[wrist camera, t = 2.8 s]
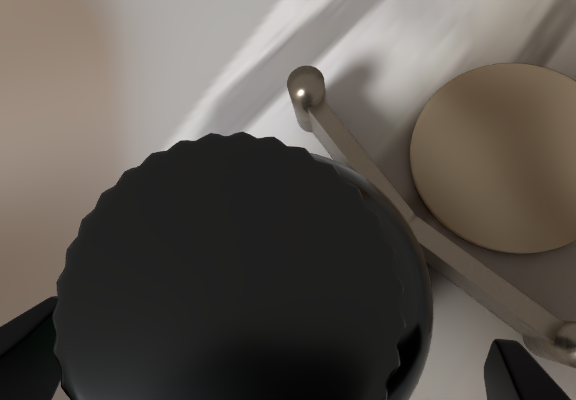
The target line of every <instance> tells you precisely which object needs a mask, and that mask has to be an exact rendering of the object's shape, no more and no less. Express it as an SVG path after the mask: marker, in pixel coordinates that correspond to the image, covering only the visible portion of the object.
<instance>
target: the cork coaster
mask: <svg viewBox="0 0 576 400" xmlns="http://www.w3.org/2000/svg"><path fill="white" fill-rule="evenodd" d="M410 166H411V172H412V176H413V180H414V183H415V185H416V188H417V191H418V193H419V195H420V196H421V198H422V200H423V202H424V203H425V205H426V206H427V208H428V209H429V210H430V212H431V213H432V214H433V215H434V216H435V217H436V218H437V219H438V220H439V222H440V223H442V224H443V225H444V226H445V227H446V228H448V229H449V230H450V231H451V232H453V233H454V234H456V235H458V236H459V237H461V238H462V239H464V240H466V241H468V242H470V243H472V244H475V245H477V246H480V247H483V248H486V249H489V250H494V251H498V252H503V253H514V254H527V253H537V252H543V251H549V250H552V249H556V248H559V247H563V246H565V245H568V244H570V243H572V242H575V241H576V82H575V81H574V80H572V79H570V78H568V77H566V76H564V75H562V74H560V73H558V72H555V71H552V70H550V69H547V68H543V67H539V66H535V65H528V64H521V63H504V64H493V65H488V66H484V67H480V68H477V69H474V70H471V71H468V72H466V73H464V74H462V75H459V76H458V77H456V78H454V79H453V80H451V81H450V82H448V83H447V84H445V85H444V86H443V87H442V88H440V89H439V90H438V91H437V92H436V93H435V94H434V95H433V96H432V98H431V99H430V100H429V101H428V103H427V104H426V105H425V107H424V108H423V110H422V112H421V114H420V116H419V118H418V120H417V122H416V125H415V128H414V131H413V134H412V139H411V144H410Z"/></svg>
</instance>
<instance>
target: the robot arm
mask: <svg viewBox="0 0 576 400" xmlns="http://www.w3.org/2000/svg"><path fill="white" fill-rule="evenodd" d="M57 301H58V296H53V297H50V298H48V299H46V300H44V301H43V302H41V303H39V304H38V305H36V306H35V307H33V308H31V309H30V310H28V311H26V312H24V313H23V314H21V315H20V316H18V317H16V318H14V319H13V320H11V321H10V322H8V323H6V324H4V325H3V326H1V327H0V400H52V398H53V396H54V394H55V391H56V389H57V387H58V385H59V383H60V381H61V367H60V365H59V363H58V361H57V359H56V357H55V355H54V353H53V350H54V343H55V340H56V330H55V327H54V323H53V319H52V315H53V312H54V309H55V307H56V304H57ZM484 380H485V387H486V394H487V400H571V399H570V398H569V397H568V396H567V395H566V393H565V392H564V391H563V390H562V389H561V388H560V387H559V386H558V385H557V384H556V382H555V381H554V380H553V379H552V378H551V377H550V376H549V375H548V374H547V373H546V371H545V370H544V369H543V368H542V367H541V366H540V365H539V364H538V363H537V361H536V360H535V359H534V358H533V357H532V356H531V355H530V354H529V353H528V352H527V350H526V349H525V348H524V347H523V346H522V345H521V344H520V343H518V342H517V341H514V340H504V339H495V340H494V341H493V342H492V344H491V347H490V350H489V353H488V356H487V359H486V362H485V365H484Z"/></svg>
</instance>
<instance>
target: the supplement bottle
mask: <svg viewBox="0 0 576 400" xmlns="http://www.w3.org/2000/svg"><path fill="white" fill-rule="evenodd" d="M57 294H58V301H57V304H56V307H55V309H54V312H53V315H52V319H53V323H54V327H55V330H56V340H55V343H54V350H53V353H54V355H55V357H56V359H57V361H58V363H59V365H60V367H61V388H62V389H63V390H64V392H65V393H66V395H67V396H68V397H69V398H70V399H71V400H409V399H410V397H411V395H412V393H413V391H414V389H415V388H416V386H417V384H418V381H419V379H420V377H421V374H422V372H423V369H424V366H425V363H426V360H427V356H428V353H429V348H430V343H431V338H432V329H433V295H432V286H431V281H430V276H429V271H428V267H427V264H426V261H425V258H424V255H423V252H422V249H421V247H420V245H419V242H418V240H417V238H416V236H415V234H414V232H413V231H412V229H411V227H410V225H409V224H408V222H407V221H406V219H405V218H404V216H403V215H402V213H401V212H400V211H399V209H398V208H397V207H396V206H395V205H394V203H393V202H392V201H391V200H390V199H389V198H388V197H387V196H386V195H385V194H384V193H383V192H382V191H381V190H380V189H379V188H378V187H377V186H375V185H374V184H373V183H372V182H370V181H369V180H368V179H367V178H365V177H364V176H362V175H361V174H359V173H358V172H356V171H354V170H353V169H351V168H349V167H347V166H345V165H343V164H341V163H339V162H336V161H334V160H331V159H329V158H326V157H323V156H319V155H316V154H312V153H309V152H308V151H307V150H306V149H305V148H301V147H290V146H286V145H285V144H283V143H282V142H281V141H280V140H278V139H277V138H275V137H264V138H255V137H253V136H251V135H250V134H247V133H245V132H239V133H235V134H233V135H230V136H222V135H219V134H214V133H210V134H208V135H206V136H204V137H202V138H200V139H198V140H197V141H189V140H184V141H179V142H178V143H176V144H175V145H173V146H172V147H171V148H170V149H169V150H167V151H161V152H156V153H152V154H151V155H150V156H148V157H147V158H146V159H145V161H144V162H143V163H142V164H141V165H140V166H138V167H136V168H131V169H129V170H127V171H125V172H124V173H123V175H122V176H121V178H120V179H119V181H118V182H117V184H116V185H115V186H114V187H112V188H110V189H108V190H106V191H105V192H103V193H102V194H101V196H100V198H99V200H98V202H97V204H96V207H95V209H94V210H93V211H92V212H91V213H89V214H88V215H87V216H86V217H85V218H83V219H82V221H81V225H80V228H79V232H78V236H77V238H76V239H75V240H74V241H73V242H72V244H71V245H70V246H69V247H68V249H67V252H66V264H65V268H64V270H63V272H62V274H61V275H60V277H59V279H58V281H57Z"/></svg>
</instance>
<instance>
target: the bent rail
mask: <svg viewBox="0 0 576 400" xmlns="http://www.w3.org/2000/svg"><path fill="white" fill-rule="evenodd" d="M287 87H288V91H289V94H290V97H291V100H292V104H293V107H294V110H295V114H296V117H297V120H298V123H299V125H300V127H301V128H302V129H303V130H305V131H308V132H313V133H314V134H315V136H316V137H317V138H318V140H319V141H320V142H321V144H322V145H323V146H324V147H325V149H326V150H327V151H328V153H329V154H330V155H331V157H332V158H333V159H334V161H336V162H339V163H341V164H343V165H345V166H347V167H349V168H351V169H353V170H354V171H356V172H358V173H359V174H361V175H362V176H364V177H365V178H367V179H368V180H369V181H370V182H372V183H373V184H374V185H375V186H377V187H378V188H379V189H380V190H381V191H382V192H383V193H384V194H385V195H386V196H387V197H388V198H389V199H390V200H391V201H392V202H393V203H394V205H395V206H396V207H397V208H398V209H399V211H400V212H401V213H402V215H403V216H404V218H405V219H406V221H407V222H408V224H409V225H410V227H411V229H412V231H413V232H414V234H415V236H416V238H417V240H418V242H419V245H420V247H421V249H422V252H423V255H424V258H425V261H426V263H428V264H429V265H430V266H431V267H433V268H434V269H435V270H437V271H438V272H439V273H441V274H442V275H443V276H445V277H446V278H447V279H449V280H450V281H451V282H453V283H454V284H455V285H457V286H458V287H459V288H461V289H462V290H463V291H465V292H466V293H467V294H469V295H470V296H471V297H473V298H474V299H475V300H476V301H478V302H479V303H480V304H482V305H483V306H484V307H486V308H487V309H488V310H490V311H491V312H492V313H494V314H495V315H496V316H498V317H499V318H500V319H502V320H503V321H504V322H506V323H507V324H508V325H510V326H511V327H512V328H514V329H515V330H516V331H518V332H519V333H520V334H521V335H523V340H524V343H525V345H526V346H527V348H528V349H529V350H530V351H531V352H532V353H534V354H536V355H538V356H541V357H544V358H547V359H550V360H553V361H556V362H559V363H562V364H565V365H567V366H570V367H573V368H576V322H571V321H563V320H559V319H558V318H556V317H555V316H553V315H552V314H551V313H549V312H548V311H547V310H545V309H544V308H542V307H541V306H540V305H538V304H537V303H536V302H534V301H533V300H531V299H530V298H529V297H527V296H526V295H525V294H523V293H522V292H520V291H519V290H518V289H516V288H515V287H514V286H512V285H511V284H509V283H508V282H507V281H505V280H504V279H503V278H501V277H500V276H498V275H497V274H496V273H494V272H493V271H492V270H490V269H489V268H487V267H486V266H485V265H483V264H482V263H481V262H479V261H478V260H476V259H475V258H474V257H472V256H471V255H470V254H468V253H467V252H465V251H464V250H463V249H461V248H460V247H459V246H457V245H456V244H454V243H453V242H452V241H450V240H449V239H448V238H446V237H445V236H443V235H442V234H441V233H439V232H438V231H437V230H435V229H434V228H432V227H431V226H430V225H428V224H427V223H426V222H424V221H423V220H421V219H420V218H419V217H417V216H416V215H415V214H414V212H413V211H412V210H411V209H410V207H409V206H408V205H407V204H406V202H405V201H404V200H403V199H402V197H401V196H400V195H399V194H398V192H397V191H396V190H395V189H394V187H393V186H392V185H391V184H390V182H389V181H388V180H387V179H386V177H385V176H384V175H383V174H382V172H381V171H380V170H379V169H378V167H377V166H376V165H375V164H374V162H373V161H372V160H371V159H370V157H369V156H368V155H367V154H366V152H365V151H364V150H363V149H362V147H361V146H360V145H359V144H358V142H357V141H356V140H355V139H354V137H353V136H352V135H351V134H350V132H349V131H348V130H347V128H346V127H345V126H344V125H343V123H342V122H341V121H340V120H339V118H338V117H337V116H336V115H335V113H334V112H333V111H332V110H331V108H330V107H329V106H328V105H327V100H326V92H325V83H324V77H323V75H322V73H321V72H320V71H319V70H318V69H317V68H315V67H312V66H302V67H299V68H297V69H295V70H294V71H293V72H292V73H291V74H290V76H289V78H288V81H287Z"/></svg>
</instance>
